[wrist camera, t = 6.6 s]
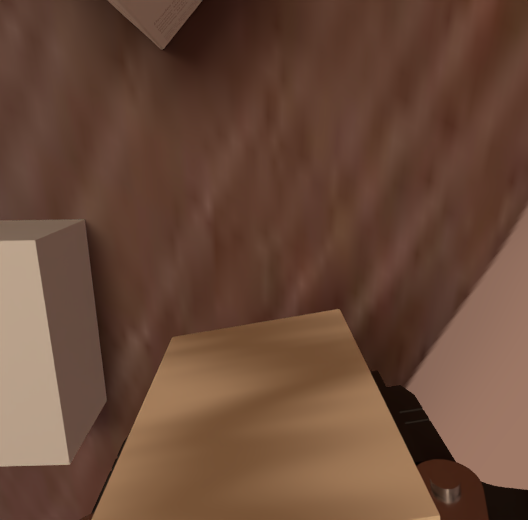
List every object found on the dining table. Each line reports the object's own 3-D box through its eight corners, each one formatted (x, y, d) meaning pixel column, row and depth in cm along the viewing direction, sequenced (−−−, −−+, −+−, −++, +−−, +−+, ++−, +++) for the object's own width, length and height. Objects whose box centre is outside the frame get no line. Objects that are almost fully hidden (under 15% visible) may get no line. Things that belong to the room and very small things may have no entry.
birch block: (339, 308, 12) (440, 515, 5) (359, 450, 14) (459, 755, 7) (172, 337, 12) (68, 571, 6) (208, 473, 14) (158, 794, 7)
